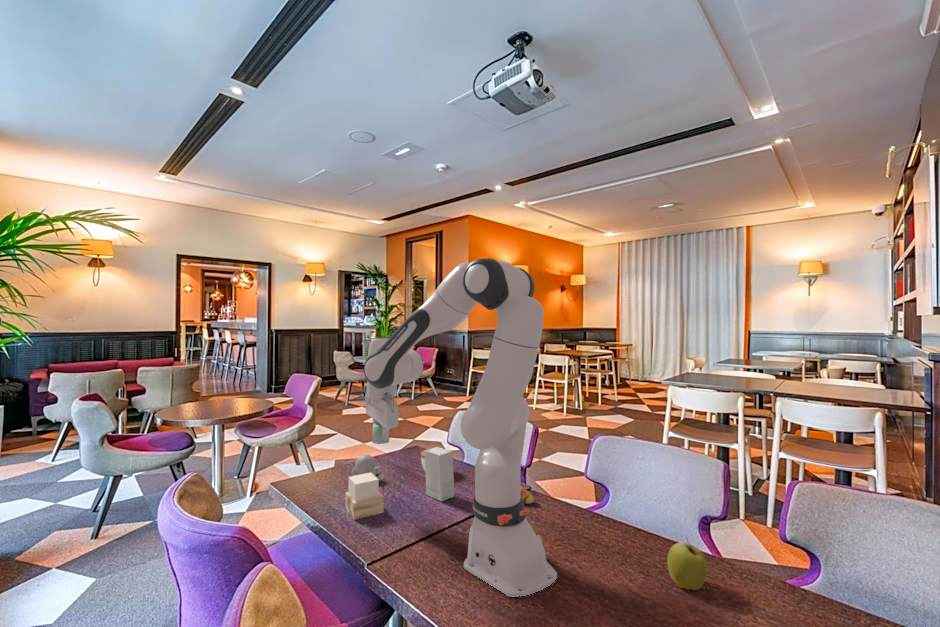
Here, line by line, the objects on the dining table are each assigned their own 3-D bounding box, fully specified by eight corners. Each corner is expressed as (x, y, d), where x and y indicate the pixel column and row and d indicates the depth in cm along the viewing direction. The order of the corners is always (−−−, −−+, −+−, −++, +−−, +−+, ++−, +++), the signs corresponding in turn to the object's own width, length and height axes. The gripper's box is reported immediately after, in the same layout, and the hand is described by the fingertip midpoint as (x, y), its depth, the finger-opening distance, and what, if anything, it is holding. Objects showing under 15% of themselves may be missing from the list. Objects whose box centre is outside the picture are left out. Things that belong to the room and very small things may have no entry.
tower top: (378, 496, 125) (378, 479, 125) (355, 501, 122) (355, 484, 122) (370, 488, 131) (370, 472, 131) (348, 493, 128) (348, 476, 128)
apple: (654, 575, 92) (664, 529, 93) (679, 577, 95) (688, 532, 96) (686, 597, 85) (696, 547, 86) (712, 599, 88) (721, 550, 89)
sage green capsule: (391, 442, 126) (392, 425, 126) (375, 444, 123) (375, 427, 123) (386, 438, 130) (386, 422, 130) (370, 440, 127) (370, 423, 128)
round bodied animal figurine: (371, 493, 145) (379, 472, 144) (347, 475, 150) (353, 454, 149) (384, 485, 152) (391, 465, 150) (360, 468, 157) (367, 448, 155)
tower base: (383, 513, 125) (383, 496, 125) (353, 521, 120) (353, 503, 120) (374, 502, 133) (374, 486, 133) (345, 509, 128) (345, 492, 128)
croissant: (538, 513, 132) (543, 487, 135) (525, 508, 125) (531, 481, 128) (481, 495, 144) (488, 472, 147) (467, 490, 137) (474, 465, 140)
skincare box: (454, 497, 136) (454, 451, 136) (440, 502, 132) (440, 455, 132) (438, 489, 142) (438, 445, 142) (424, 494, 138) (424, 449, 138)
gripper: (404, 395, 119) (403, 444, 119) (381, 384, 137) (380, 426, 137) (383, 397, 116) (382, 447, 116) (362, 385, 134) (361, 429, 134)
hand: (380, 436), depth 127 cm, fingers closed on sage green capsule, 5 cm apart
